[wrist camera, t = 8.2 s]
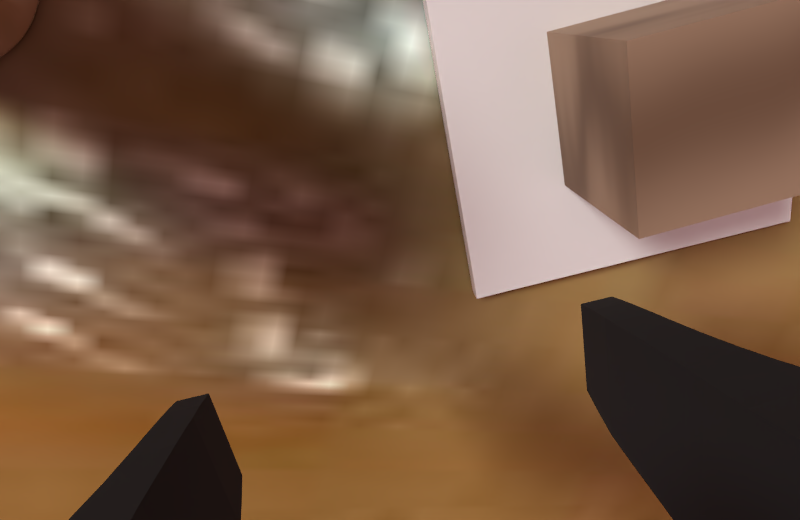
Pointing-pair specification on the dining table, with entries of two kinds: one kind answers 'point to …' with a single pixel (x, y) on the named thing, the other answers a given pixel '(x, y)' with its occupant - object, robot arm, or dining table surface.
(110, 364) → the dining table surface
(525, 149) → the ceramic tile
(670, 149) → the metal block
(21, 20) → the beer glass
